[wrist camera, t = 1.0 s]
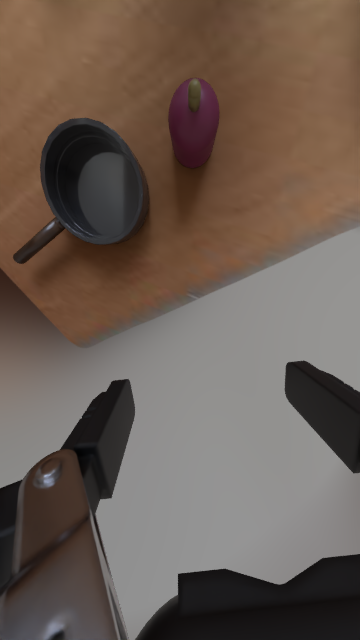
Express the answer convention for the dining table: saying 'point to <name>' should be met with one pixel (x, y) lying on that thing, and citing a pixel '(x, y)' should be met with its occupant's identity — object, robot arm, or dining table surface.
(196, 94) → the purple eggplant
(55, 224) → the pan handle
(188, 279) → the dining table surface
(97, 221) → the pan
